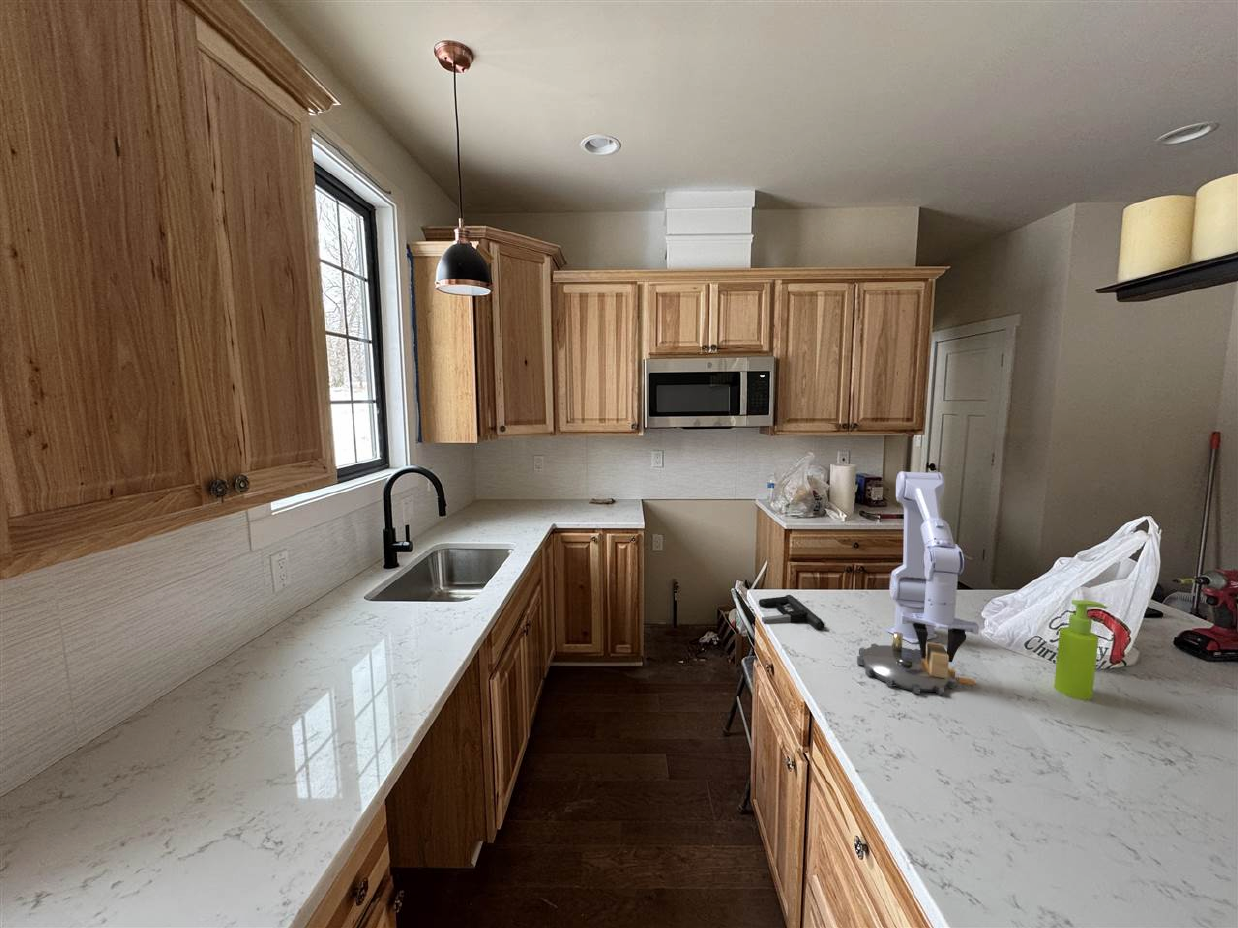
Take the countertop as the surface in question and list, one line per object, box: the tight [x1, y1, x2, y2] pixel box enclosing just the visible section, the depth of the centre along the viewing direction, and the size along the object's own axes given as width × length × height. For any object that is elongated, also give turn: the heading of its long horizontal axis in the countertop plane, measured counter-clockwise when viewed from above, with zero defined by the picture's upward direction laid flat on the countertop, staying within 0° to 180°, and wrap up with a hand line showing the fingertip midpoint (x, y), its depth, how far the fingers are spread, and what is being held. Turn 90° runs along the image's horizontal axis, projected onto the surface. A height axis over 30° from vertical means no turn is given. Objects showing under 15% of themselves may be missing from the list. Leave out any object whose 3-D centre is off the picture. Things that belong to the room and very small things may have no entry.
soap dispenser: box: [1053, 599, 1108, 701], centre depth 102 cm, size 6×7×20 cm
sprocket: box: [856, 632, 957, 696], centre depth 111 cm, size 20×20×6 cm
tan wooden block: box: [926, 641, 950, 678], centre depth 108 cm, size 6×3×5 cm, turn 158°
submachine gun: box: [758, 594, 826, 631], centre depth 142 cm, size 3×20×16 cm
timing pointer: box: [957, 676, 976, 685], centre depth 107 cm, size 3×1×1 cm, turn 68°
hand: (935, 657), depth 109 cm, fingers open, 4 cm apart
